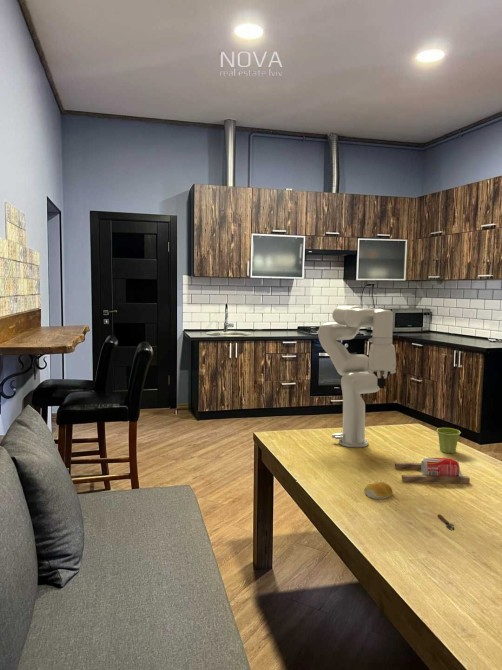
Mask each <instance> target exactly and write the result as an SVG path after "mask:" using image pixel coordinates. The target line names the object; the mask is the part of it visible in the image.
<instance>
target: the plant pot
mask: <svg viewBox="0 0 502 670" xmlns="http://www.w3.org/2000/svg"><path fill="white" fill-rule="evenodd" d="M436 432H437V436H438V443H439V450H440V452H442V453H445V454H450V453H451V454H454V453H457V452H456V451H457V445H458V442H459V441H458V440H459V437H460V435H461V433H462V432H461V431H460V430H459V429H457V428H456V429H455V428H451V427H438V428H437V429H436Z"/></svg>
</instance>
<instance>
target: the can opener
mask: <svg viewBox="0 0 502 670" xmlns="http://www.w3.org/2000/svg"><path fill="white" fill-rule="evenodd" d="M437 517H438V519H439V520H440V521H442V523H444V525H446V526H445V528H446V529H447V530H449V531H454V530H455V525H454V524H451V523H450V522H449V521H448V520H447V519H446V518H445V517H444V516H443V515H441V514H437Z"/></svg>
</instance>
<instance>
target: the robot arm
mask: <svg viewBox="0 0 502 670" xmlns="http://www.w3.org/2000/svg"><path fill="white" fill-rule="evenodd" d="M331 314H332V315H331V317H332V319H333V321H332V322H326V323H322V324H321V325H320V326H319V328H318V331H317V333H318V335H317V337H318V341H319V343H320V345H321V347H322V349H323V350H324V351H325V353H326V354H327V355H328V356H329V358H330V360H331V363H332V364H333V366H334V368H335V370H336V371H337V373H338V374H339V375H340V376H342V377H341V380H340V386H341V391H342V392H341V393H342V430H341V432H340V433H332V434H331V438H332V439H335V440H338V444H340V445H341V446H344V447H346V448H364V447H367V446H368V445H369V440H368V439H366V438H365V436H366V432H365V431H366V427H365V426H366V403H365V400H364V399H363V397H362V396H361V395H362V394H364V395H365V394H373V393H377V392H379V391H380V390H381V389H385V387H386V384H387V383H386V381H387V380H386V379H387V378H388V377H389V376H390V375H392V374H395V373H397V370H396V369H397V356H396V355H397V354H396V348H395V345H394V344H393V330H394V329H393V327H394V326H393V325H394V321H393V319H394V314H393V311H392V310H390V309H383V308H378V307H377V308H376V307H375V308H363V307H362V306H360V305H341V306H340V305H339V306H338V307H336V308H334V310H333V312H332V313H331ZM361 328H372V337H370V338H368V343H372V344H370V346H369V352H368V356H367V355H366V354H362V353H361V354H353V353H352V354H351V353H350V352H349V350H348V349H347V347H345V345H344V344H342V343H341V342H339V341H349V340H353V339H355V337H356V336H357V335H358V333H359V331H360V330H361ZM381 372H382V375H381Z"/></svg>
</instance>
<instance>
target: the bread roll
mask: <svg viewBox="0 0 502 670" xmlns="http://www.w3.org/2000/svg"><path fill="white" fill-rule="evenodd" d="M363 492H364V494H365V495H366V496H367V497H369V498H370V499H374V500H384V499H387V498H391V497H392V496H393V495H394V494H393V493H394V492H393V489H392V487H391V486H390V484H388V483H386V482H382V481H381V482H374V483H369V484H367V485H366V486H365V488H364V490H363Z"/></svg>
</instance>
